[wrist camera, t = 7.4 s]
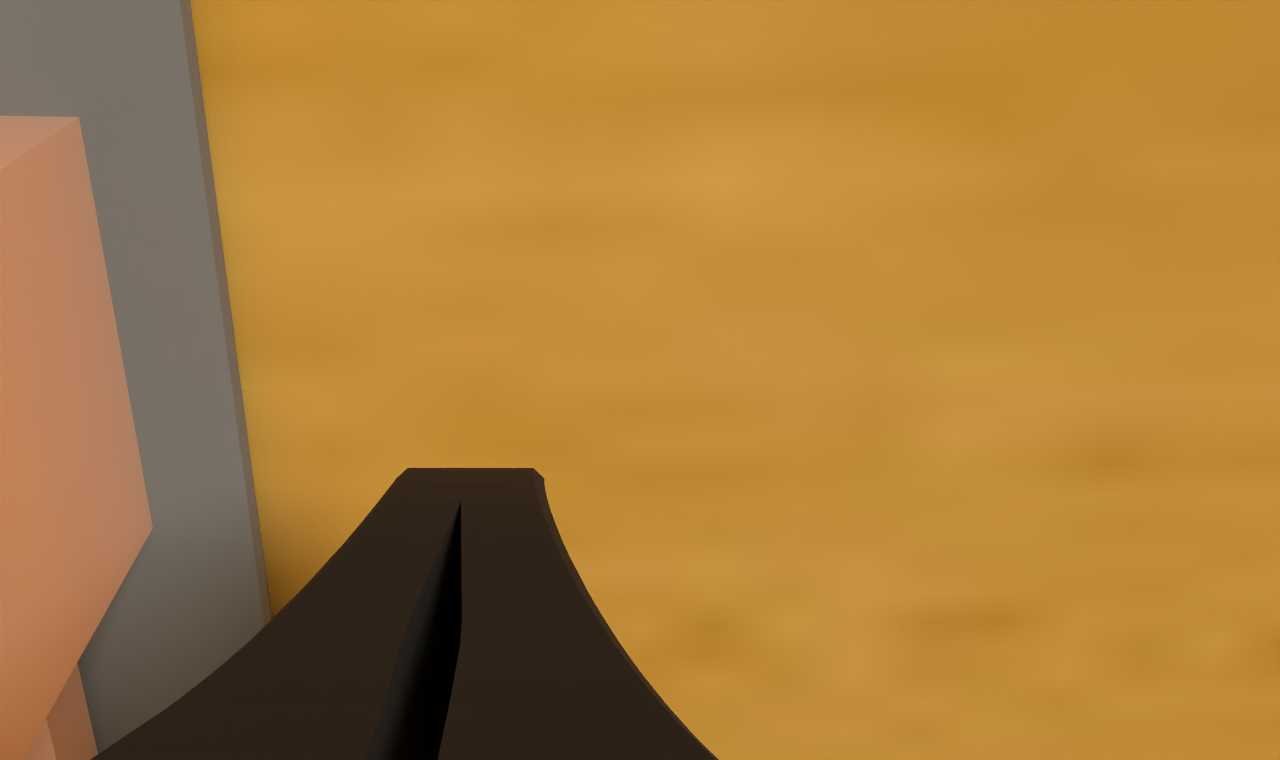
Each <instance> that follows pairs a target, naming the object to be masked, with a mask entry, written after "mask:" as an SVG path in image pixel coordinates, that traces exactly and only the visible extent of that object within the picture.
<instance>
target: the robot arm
mask: <svg viewBox="0 0 1280 760" xmlns="http://www.w3.org/2000/svg"><path fill="white" fill-rule="evenodd" d="M90 760H718V759H717V758H716V757H715V756H714V755H713V754H712V753H711V752H710V751H709V750H708V749H707V748H706V747H705V746H704V745H703V744H702V743H701V742H700V741H699V740H698V739H697V738H696V737H695V736H694V735H693V734H692V733H691V732H690V731H689V729H688V728H687V727H686V726H685V725H684V724H683V723H682V721H681V720H680V719H679V718H678V717H677V716H676V715H675V714H674V712H673V711H672V710H671V709H670V708H669V707H668V706H667V705H666V703H665V702H664V701H663V700H662V699H661V697H660V696H659V695H658V694H657V692H656V691H655V690H654V689H653V687H652V686H651V685H650V684H649V682H648V681H647V680H646V679H645V677H644V676H643V675H642V673H641V672H640V671H639V669H638V668H637V667H636V665H635V664H634V663H633V661H632V660H631V659H630V657H629V656H628V654H627V653H626V651H625V650H624V649H623V647H622V646H621V644H620V643H619V641H618V640H617V638H616V637H615V635H614V634H613V632H612V630H611V629H610V627H609V626H608V624H607V623H606V621H605V620H604V618H603V617H602V615H601V613H600V612H599V610H598V608H597V607H596V605H595V603H594V601H593V600H592V598H591V596H590V595H589V593H588V591H587V589H586V587H585V585H584V583H583V582H582V580H581V578H580V576H579V574H578V572H577V570H576V568H575V566H574V564H573V562H572V560H571V559H570V557H569V555H568V552H567V550H566V548H565V546H564V544H563V541H562V539H561V537H560V534H559V532H558V529H557V527H556V524H555V522H554V519H553V516H552V513H551V510H550V507H549V504H548V500H547V496H546V492H545V486H544V478H543V477H542V476H541V475H540V474H539V473H538V472H537V471H536V470H535V469H534V468H407V469H406V470H405V471H404V472H403V473H402V474H401V475H400V476H399V477H397V478H396V480H395V481H394V482H393V484H392V485H391V486H390V488H389V489H388V490H387V491H386V493H385V494H384V495H383V497H382V498H381V499H380V500H379V502H378V503H377V504H376V505H375V507H374V508H373V509H372V510H371V512H370V513H369V514H368V515H367V517H366V518H365V519H364V520H363V521H362V523H361V524H360V525H359V526H358V527H357V529H356V530H355V531H354V532H353V533H352V535H351V536H350V537H349V538H348V539H347V540H346V542H345V543H344V544H343V545H342V546H341V547H340V548H339V549H338V550H337V552H336V553H335V554H334V555H333V556H332V557H331V558H330V559H329V560H328V562H327V563H326V564H325V565H324V566H323V567H322V568H321V569H320V570H319V572H318V573H317V574H316V575H315V576H314V577H313V578H312V579H311V580H310V581H309V582H308V584H307V585H306V586H305V587H304V588H303V589H302V590H301V591H300V592H299V593H298V594H297V595H296V596H295V597H294V598H293V599H292V600H291V601H290V602H289V603H288V604H287V605H286V606H285V607H284V608H283V609H281V610H280V611H279V612H278V613H277V614H276V615H275V616H274V617H273V618H272V619H271V620H270V621H269V622H268V623H267V624H266V625H265V626H264V627H263V628H262V629H261V630H260V631H259V632H258V633H257V634H256V635H255V636H254V637H253V638H252V639H251V640H249V641H248V642H247V643H246V644H245V645H244V646H243V647H242V648H241V649H239V650H238V651H237V652H236V653H235V654H234V655H233V656H231V657H230V658H229V659H228V660H227V661H226V662H225V663H223V664H222V665H221V666H220V667H219V668H217V669H216V670H215V671H214V672H213V673H212V674H210V675H209V676H208V677H206V678H205V679H204V680H203V681H201V682H200V683H199V684H198V685H196V686H195V687H194V688H192V689H191V690H190V691H189V692H187V693H186V694H185V695H184V696H182V697H181V698H180V699H178V700H177V701H175V702H174V703H173V704H171V705H170V706H169V707H167V708H166V709H165V710H163V711H162V712H160V713H159V714H157V715H156V716H154V717H153V718H151V719H150V720H148V721H147V722H145V723H144V724H142V725H141V726H139V727H138V728H136V729H135V730H133V731H132V732H130V733H129V734H127V735H126V736H124V737H123V738H121V739H120V740H118V741H117V742H115V743H114V744H112V745H111V746H109V747H108V748H106V749H105V750H104V751H102V752H101V753H99V754H98V755H96V756H95V757H93V758H92V759H90Z"/></svg>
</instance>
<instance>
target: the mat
mask: <svg viewBox="0 0 1280 760" xmlns="http://www.w3.org/2000/svg"><path fill="white" fill-rule="evenodd" d="M0 116H48V117H79V120H80V126H81V131H82V137H83V143H84V148H85V154H86V159H87V165H88V170H89V176H90V181H91V187H92V193H93V198H94V204H95V209H96V215H97V220H98V226H99V232H100V237H101V243H102V248H103V254H104V259H105V265H106V270H107V276H108V282H109V287H110V293H111V298H112V304H113V309H114V315H115V320H116V326H117V332H118V337H119V343H120V348H121V354H122V359H123V365H124V370H125V376H126V382H127V387H128V393H129V398H130V404H131V409H132V415H133V421H134V426H135V432H136V437H137V443H138V448H139V454H140V459H141V465H142V471H143V476H144V482H145V487H146V493H147V498H148V504H149V509H150V515H151V521H152V526H153V528H152V530H151V532H150V534H149V536H148V537H147V539H146V541H145V543H144V545H143V546H142V548H141V550H140V552H139V553H138V555H137V557H136V559H135V561H134V562H133V564H132V566H131V568H130V569H129V571H128V573H127V575H126V577H125V578H124V580H123V582H122V584H121V585H120V587H119V589H118V591H117V593H116V594H115V596H114V598H113V600H112V601H111V603H110V605H109V607H108V609H107V610H106V612H105V614H104V616H103V618H102V619H101V621H100V623H99V625H98V626H97V628H96V630H95V632H94V634H93V635H92V637H91V639H90V641H89V642H88V644H87V646H86V648H85V650H84V651H83V653H82V655H81V657H80V658H79V660H78V662H77V663H78V668H79V672H80V676H81V681H82V685H83V690H84V694H85V698H86V703H87V707H88V712H89V716H90V720H91V725H92V729H93V734H94V738H95V742H96V747H97V751H98V754H99V753H101V752H102V751H104V750H105V749H106V748H108V747H109V746H111V745H112V744H114V743H115V742H117V741H118V740H120V739H121V738H123V737H124V736H126V735H127V734H129V733H130V732H132V731H133V730H135V729H136V728H138V727H139V726H141V725H142V724H144V723H145V722H147V721H148V720H150V719H151V718H153V717H154V716H156V715H157V714H159V713H160V712H162V711H163V710H165V709H166V708H167V707H169V706H170V705H171V704H173V703H174V702H175V701H177V700H178V699H180V698H181V697H182V696H184V695H185V694H186V693H187V692H189V691H190V690H191V689H192V688H194V687H195V686H196V685H198V684H199V683H200V682H201V681H203V680H204V679H205V678H206V677H208V676H209V675H210V674H212V673H213V672H214V671H215V670H216V669H217V668H219V667H220V666H221V665H222V664H223V663H225V662H226V661H227V660H228V659H229V658H230V657H231V656H233V655H234V654H235V653H236V652H237V651H238V650H239V649H241V648H242V647H243V646H244V645H245V644H246V643H247V642H248V641H249V640H251V639H252V638H253V637H254V636H255V635H256V634H257V633H258V632H259V631H260V630H261V629H262V628H263V627H264V626H265V625H266V624H267V623H268V622H269V621H270V620H271V619H272V618H271V611H270V603H269V596H268V588H267V581H266V573H265V565H264V558H263V550H262V543H261V535H260V528H259V520H258V513H257V505H256V497H255V490H254V482H253V475H252V467H251V460H250V452H249V444H248V437H247V429H246V422H245V414H244V407H243V399H242V391H241V384H240V376H239V369H238V361H237V354H236V346H235V338H234V331H233V323H232V316H231V308H230V301H229V293H228V286H227V278H226V270H225V263H224V255H223V248H222V240H221V233H220V225H219V217H218V210H217V202H216V195H215V187H214V180H213V172H212V164H211V157H210V149H209V142H208V134H207V127H206V119H205V112H204V104H203V96H202V89H201V81H200V74H199V66H198V59H197V51H196V43H195V36H194V28H193V21H192V13H191V6H190V0H0Z"/></svg>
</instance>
